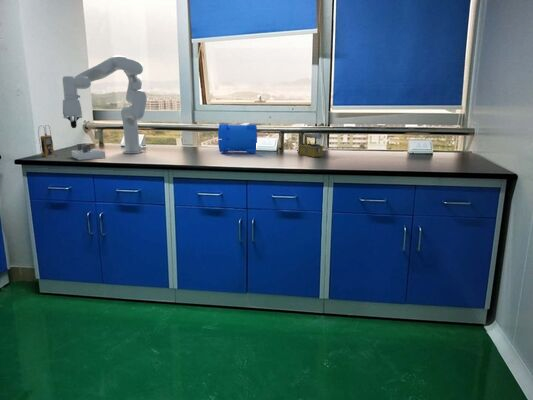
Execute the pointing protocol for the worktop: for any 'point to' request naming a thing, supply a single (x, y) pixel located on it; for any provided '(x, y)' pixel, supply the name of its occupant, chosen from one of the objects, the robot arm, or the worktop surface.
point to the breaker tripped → (88, 146)
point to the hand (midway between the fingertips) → (73, 127)
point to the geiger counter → (311, 146)
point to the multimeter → (46, 145)
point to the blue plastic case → (237, 138)
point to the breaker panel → (88, 154)
